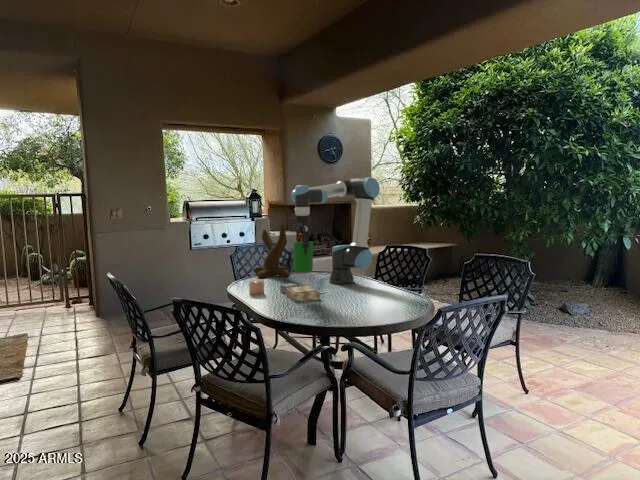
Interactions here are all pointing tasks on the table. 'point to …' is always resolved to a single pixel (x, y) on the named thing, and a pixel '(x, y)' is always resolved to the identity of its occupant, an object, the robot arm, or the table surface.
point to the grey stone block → (283, 287)
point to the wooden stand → (273, 256)
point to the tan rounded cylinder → (256, 287)
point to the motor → (302, 256)
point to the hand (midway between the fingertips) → (302, 258)
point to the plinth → (302, 293)
